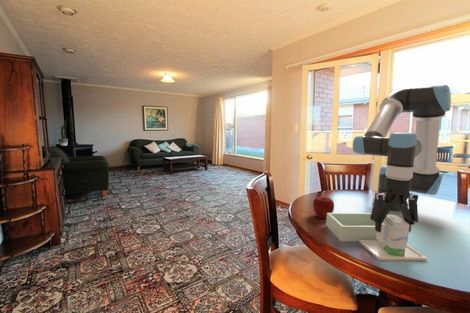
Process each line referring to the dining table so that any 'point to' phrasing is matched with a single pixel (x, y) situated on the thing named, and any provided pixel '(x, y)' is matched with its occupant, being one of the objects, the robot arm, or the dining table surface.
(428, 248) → the dining table surface
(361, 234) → the box
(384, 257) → the tray
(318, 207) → the apple
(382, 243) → the ink box
